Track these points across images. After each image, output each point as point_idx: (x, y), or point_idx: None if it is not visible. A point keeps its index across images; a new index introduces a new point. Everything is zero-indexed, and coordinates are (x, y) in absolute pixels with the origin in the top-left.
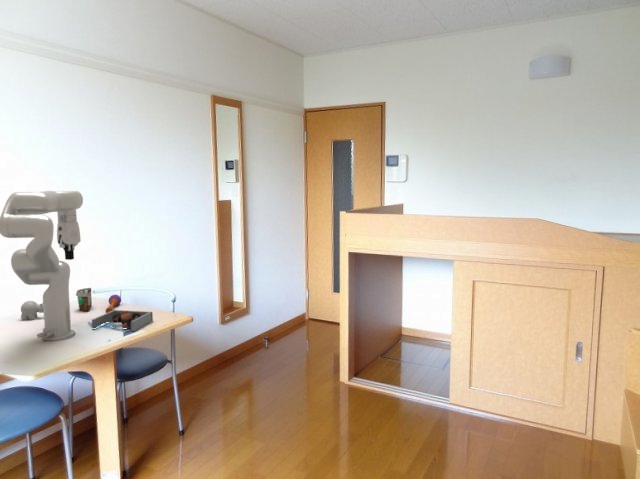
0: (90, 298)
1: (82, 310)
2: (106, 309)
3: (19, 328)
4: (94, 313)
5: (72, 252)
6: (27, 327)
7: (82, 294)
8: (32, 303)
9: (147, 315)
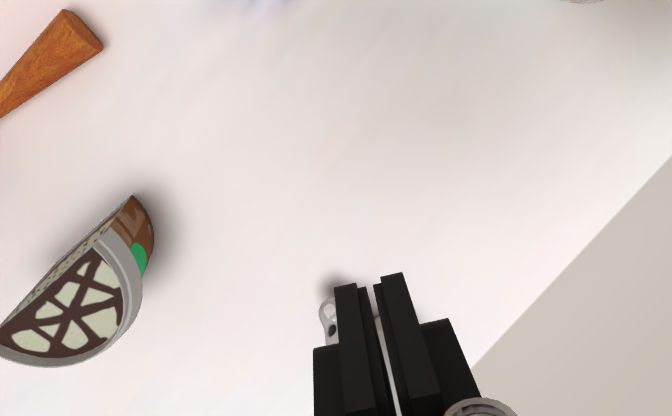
0: (43, 283)
1: (150, 230)
2: (91, 44)
3: (523, 239)
4: (138, 130)
5: (377, 373)
6: (499, 220)
7: (124, 265)
8: (391, 376)
9: None
